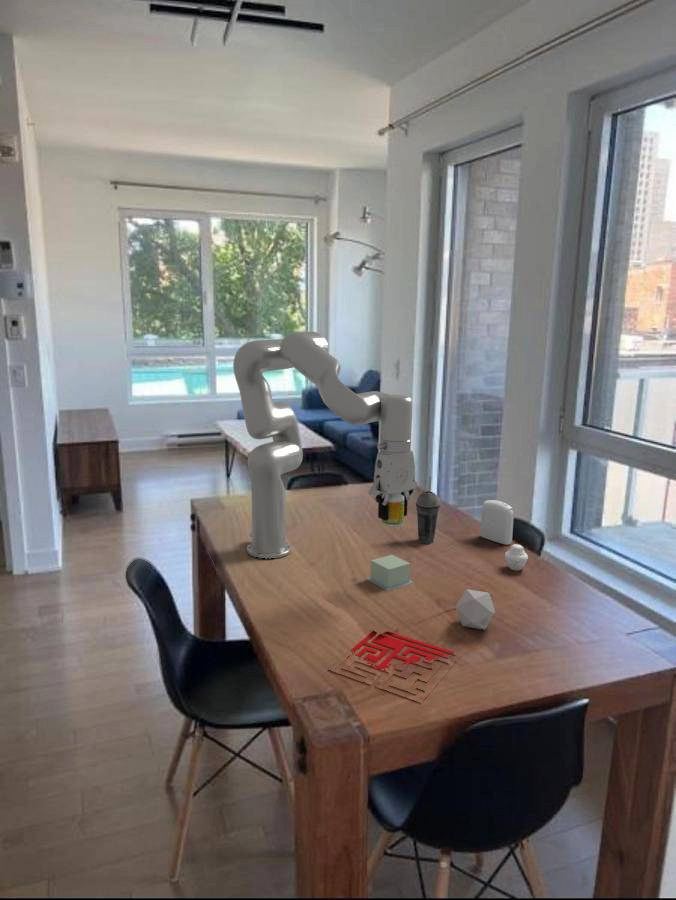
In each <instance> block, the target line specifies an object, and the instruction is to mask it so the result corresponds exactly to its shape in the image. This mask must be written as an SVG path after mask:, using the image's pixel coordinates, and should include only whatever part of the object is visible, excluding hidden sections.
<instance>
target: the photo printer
mask: <svg viewBox="0 0 676 900" xmlns="http://www.w3.org/2000/svg"><path fill="white" fill-rule="evenodd" d="M514 516H515V510H514V508H513V507H512V506H511V505H509V504H508V503H505V502H503V501H500V500H495V499H491V500H485V501H484V502H483V504H482V507H481V520H480V537H481V538H483V539H487V540H489V541H491V542H496V543H498V544H502V545H505V546H507V545H511V544H512V542H513V534H514V533H513V531H514V530H513V529H514V518H515V517H514Z"/></svg>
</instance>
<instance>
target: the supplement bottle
mask: <svg viewBox="0 0 676 900" xmlns="http://www.w3.org/2000/svg"><path fill="white" fill-rule="evenodd" d="M401 493H402V492H401ZM401 493H396V494H390V495H389V498H388V501H387V505H388V506H389V513H388V520H386V521H385V520H383V519H381V524H382V525H383V526H386V527H389V528H390V527H391V528H396V527H398V528H399V527H401V526H403V525H404V517H405V516H404V496H403V495H402V494H401ZM383 497H384V494H383V496H382V498H383Z"/></svg>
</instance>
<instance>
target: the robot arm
mask: <svg viewBox="0 0 676 900" xmlns="http://www.w3.org/2000/svg"><path fill="white" fill-rule="evenodd" d="M232 368H233V369H232V370H233V373H234V378H235V381H236V384H237V387H238V390H239V395H240V402H241V407H242V412H243V416H244V421H245V426H246V430H247V432H248V435H249V436H250V437H251V438H253V439H254V440H264V439H265V440H266V439H269V438H272V441H270V442H266V443H263V444H259V445H258V446H256V447H254V448H253V449H252V450H251V451H250V452H249V455H248V457H247V469H248V472H249V477H250V486H251V487H250V488H251V532H250V533H249V537H250V538H251V543H250V544H248V545H247V546H246V554H248V555H249V554H250V555H249V556H251V555H252V556H251V557H253V556H254V557H253V558H256V557H258V559H262V558H265V560H270V559H271V558H274V559H279V558H283V557H285V556H287V555H289V554H290V553H291V551H292V549H291V548H292V547H291V545H290V544H289V543H288V542H286V487H285V486H284V485H285V484H284V483H283V480H282V477H281V475H283V474H286V473H289V472H292V471H294V470H297V469H298V468H299V467H300V466H301V465H302V463H303V462H302V461H303V458H304V457H303V456H304V455H303V454H304V452H303V446H302V440H301V436H300V435H301V434H300V429H299V424H298V419H297V415H296V413H295V410H293V408H292V407H291V405H289V404H287V403H286V402H283V401H274V399H273V397H272V390H271V386H270V384H269V382H268V381H267V379H266V377H265V376H264V375H263V373H264V372H272V371H274V372H275V371H282V370H289V369H292V368H294V369H295V370H296V371H298V372H299V373H300V374H301V375H303V376H304V377H305V379H308V381H310V382H311V383H312V384H313V385H314V386H315V387H316V388H317V390H318V393H319V395H320V397H321V399H322V402H323V403H324V405H326V407H327V408H328V409H329V410H330V411H332V413H334V414H335V415H336V416H338V417H339V418H340V419H341V420H343V421H344V422H345V423H348V424H349V425H351V426H356V427H357V426H362V425H366V424H369V423H375V422H379V421H380V422H379V426H380V428H379V443H377V445H376V446H377V449H378V450H379V451H377V455H376V460H375V465H374V475H373V483H372V485H371V487H370V488H369V489H368V494H369V495H370V496H371V497H373V499H374V500H375V502H376V503H378V507H377V518H378V519H381V520H382V519H383V520H385V521H386V520H388V513H389V506H388V505H387V501H388V498H389V495H390V494H396V493H401V492H402V493H401V494H402V495H403V496H404V517H407V516H408V501H410V500H411V496H412V494H413V492H414V490H415V489H416V488H417V486H418V482H417V480H416V465H415V464H416V463H415V456H414V451H413V450H412V449H411V448H412V447H411V445H412V444H411V443H412V419H413V400H412V398H411V397H410V396H408V395H404V394H388V393H385V392H382V391H379V390H378V391H377V390H373V391H367V392H360V393H355V392H354V391H353V390H352V389H350V388H349V387H348V386H347V385H345V384H344V383H343V382H342V381H341V380H340V378H339V375H340V372H341V368H342V367H341V362H340V361H339V360H338V359H337V358H335V357H334V356H333V355H332V354H330V353H329V344H328V341H327V339H326V338H325V337H324V336H323V335H322V334H321V333H320V332H316V331H296V332H291V333H289V334H287V335H286V336H284V338H277V339H276V338H275V339H257V340H252V341H249V342H246V343H245V344H242V345H241V346H240V347H239V348H238V350H237V351H236V353H235V355H234V358H233V365H232ZM383 495H384V497H383ZM268 558H269V559H268ZM271 560H272V559H271Z"/></svg>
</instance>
